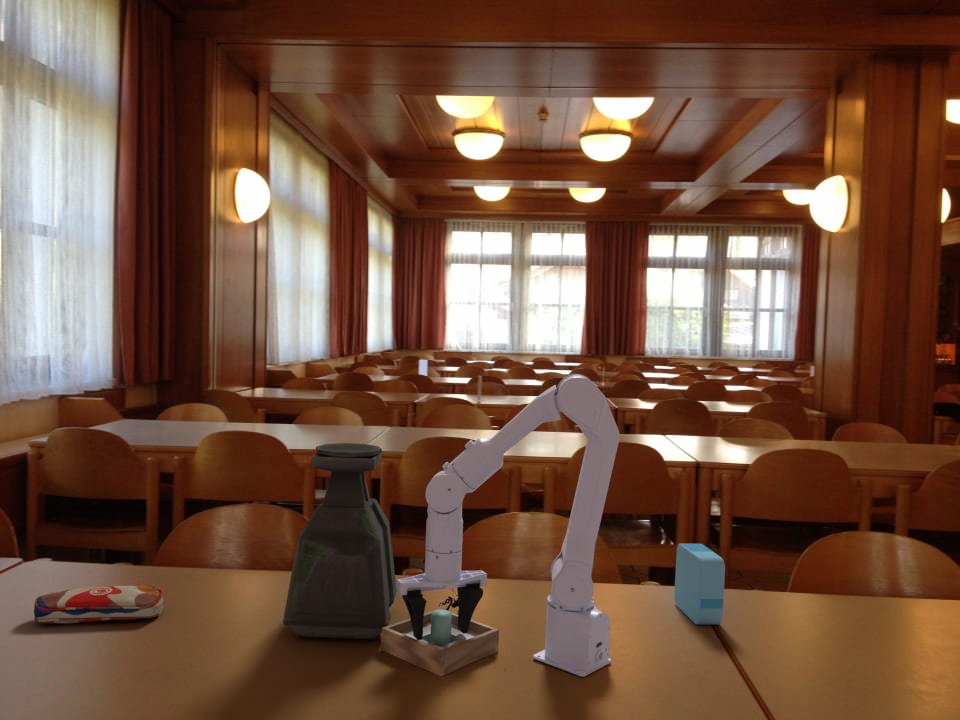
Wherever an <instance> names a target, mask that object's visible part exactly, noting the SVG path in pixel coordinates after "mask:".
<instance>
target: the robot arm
mask: <svg viewBox="0 0 960 720" xmlns="http://www.w3.org/2000/svg"><path fill="white" fill-rule="evenodd" d="M556 385H557V386H556ZM561 413H562V414H563V415H565V416H566V417H567V418H568V419H570V420H571V421H573V423H575V424H576V425H577V426H578V427H579V430H580V431H581V432H582V433H583V435H584V436H585V438H586V439H587V440H586V445H585V450H584V453H583V457H582V463H581V467H580V471H579V472H580V473H579V475H578V479H577V480H578V481H577V484H576V489H575V493H574V498H573V502H572V507H571V510H570V516H569V520H568V525H567V528H566V533H565V537H564V539H563V542H562V545H561V550H560V552H559V554H558V555H557V556H556V557H555V559H553V562H552V563H551V566H550V578H551V585H550V586H551V587H550V589H551V593H550V594H549V595H548V596H547V597H546V599H547V600H546V618H545V619H546V623H545V642H544V649H543V650H540V651H539V652H537V653H534V654H533V655H532V658H533V659H534V660H537V661H539V662H542V663H545V664H547V665H550V666H552V667H555V668H558V669H560V670H563V671H566V672H568V673H571V674H573V675H576V676H578V677H583V678H585V677H587V676H588V675H590V674H591V673H593V672H596V671H598V670H599V669H601V668H603V667H605V666H607V665H609V664H610V663H612V659H611V658H610V639H611V638H610V635H611V623H610V622H611V621H610V618H609V616H608V614H607V613H605V612H603V611H601V610H600V609H598V607H596V606H595V601H594V598H593V596H594V591H595V589H594V582H593V579H592V573H593V568H594V557H595V547H596V543H597V539H598V534H599V530H600V525H601V521H602V517H603V513H604V509H605V504H606V499H607V495H608V491H609V486H610V481H611V478H612V473H613V469H614V464H615V460H616V455H617V452H618V446H619V443H620V436H621V435H620V431H619V428H618V426H617V423H616V420H615V418H614V415H613V413H612V410H611V408H610V405H609V403H608V401H607V397H606V395H605V394H604V393H603V392H602V391H601V390H600V389H599V387H598V386H597V385H596V384H595V383H594V382H593V381H592V380H591V379H590V378H589V377H587V376H586V375H583V374H577V373H574V374H569V375H567V376H564V378H562V379H561V380H560V381H559V383H558V384H554V385H552V386H551V387H549V388H547V389H546V390H544V391H543V392H542V393H540V394H539V395H538V396H536V397H535V398H534V399H532V400H531V401H530V402H529V403H528V404H527V405H526V406H525V407H524V408H523V409H522V410H521V411H519V412H518V413H517V414H516V415H515V416H514V417H513V418H512V419H511V420H510V421H508V422H507V423H506V424H505V425H504V426H503V427H502V428H501V429H500V430H499V431H498V432H496V433H495V434H494V435H493V437H491V438H485V437H483V438H482V437H478V438H477V439H476V440H475V441H473V440H472V439H470V440H469V441H468V442H467V443H466V444H465V445H464V448H465V449H464V450H463V451H462V452H461V453H460V454H459V455H457V456H455V458H454V459H453V460H452V461H451V462H448V461H446V462H445V463H443V465H442V469H443V470H441V471H439V472H437V473H435V475H433V477H432V478H431V480H430V481H429V482H428V484H427V485H426V488H425V500H426V502H427V504H428V506H427V518H426V523H425V524H426V528H425V554H424V556H425V557H424V573H420V574H416V575H413V576H409V577H405V578H397V579H396V589H397V592H396V593H397V594H398V595H400V596H401V597H402V599H403V602H404V603H405V606H406V609H407V613H408V615H409V619H411V623H412V628H413V636H414V637H415V638H416V639H417V640H422V637H423V617H424V613H425V610H426V605H427V600H426V599H425V598H424V597H423V593H422V592H428V591H437V590H439V591H440V590H445V589H447V590H452V589H456V590H457V599H458V603H459V606H458V610H459V611H458V610H457V614H458V629H459V630H460V631H461V632H462V633H463V634H465V633H467V632H468V628H469V624H470V621H471V620H472V618H473V614H474V613H475V610H476V609H477V606H478V604H479V602H480V601H481V600H482V598H483V595H484V588H482V587H486V586H488V585H487V580H488V579H487V578H488V573H486V572H485V571H483V570H482V569H480V570H462V565H463V564H462V561H463V559H462V558H463V556H462V555H463V532H464V531H463V529H464V526H463V525H464V520H463V519H464V518H463V502H464V498H465V496H466V494H468V493H470V494H471V493H473V492H474V491H476V490H477V489H478V488H479V487H480V486H481V485H483V484H484V483H485V482H486V481H487V480H488V479H490V478H491V477H492V476H493V475H494V474H496V473H497V472H498V471H499V470H500V469H501V468H502V467H503V466H504V455H505V454H506V453H507V452H508V451H510V450H511V449H512V448H513V447H514V446H516V445H517V444H518V443H520V442H521V441H522V440H523V439H524V438H526V437H527V436H528V435H529V434H531V433H532V432H533V431H534V430H536V428H538V427H539V426H540V425H541V424H543V423H549V422H555V421H556V422H557V421H561V420H562V417H561Z"/></svg>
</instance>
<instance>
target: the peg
mask: <svg viewBox="0 0 960 720" xmlns="http://www.w3.org/2000/svg"><path fill="white" fill-rule="evenodd" d="M434 610H435V611H433V610H432V611H433V612H432V613H431V636H430V643H433V644H435V645H437V646H440V647H442V646H444V645H447V644H449V643H451V621H452V613H453V612H452V613H451V610H450V611H449V610H448V611H447V610H446V609H444V610H436V609H434Z"/></svg>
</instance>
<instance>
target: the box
mask: <svg viewBox="0 0 960 720" xmlns="http://www.w3.org/2000/svg"><path fill="white" fill-rule="evenodd" d="M435 610H445V609H443V608H441V607H440V608H439V607H438V608H436V609H434V610H430V611H428V612H424V617H423V637H422V640H417V639H416V638H415V637H414V636H413V628H412V623H411V619H410V618H407V619H405V620H404V619H403V620H401V621H399V622H395V623H392V624H390V625H387V626H386V627H383V628H382V632H381V639H380V641H381V644H380V650H381V651H382V652H385V653H387V654H390V655H391V656H394V657H396V658H398V659H400V660H402V661H405V662H407V663H410V664H412V665H415V666H416V667H419V668H421V669H423V670H425V671H428V672H430V673H431V674H434V675H437V676H439V677H443V676H445V675H447V674H450V673H452V672H454V671H456V670H459V669H461V668H463V667H466V666H468V665H470V664H473V663H475V662H477V661H480V660H481V659H482V660H483V659H484V658H486V657H488V656H489V657H490V655H493V654H495V653H498V652H499V640H500V629H499V628H496V627H492V626H491V625H488V624H484V623H482V622H479V621H477V620H473V619H471V621H470V624H469V628H468V632H467V633H465V634H463V633H462V632H461V631H460V630H459V629H458V615H457V614H458V613H454V612H451V611H450V612H451V613H452V621H451V643H449V644H447V645H444V646H442V647H440V646H437V645H435V644H433V643H430V636H431V613H432V612H433V611H435Z"/></svg>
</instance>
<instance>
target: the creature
mask: <svg viewBox="0 0 960 720" xmlns="http://www.w3.org/2000/svg"><path fill="white" fill-rule="evenodd" d="M451 590H452V592H454V593H453V596H456V597H458V594H457V593H455V590H454V588H452V589H451ZM454 594H455V595H454ZM446 604H447V605H448V606H447V607H446V609H445V610H447V611H449V610H450V608H452V609H455V608H459V603H458V598H457V599H455V597H451V596H448V597H447V598H446V599H445V600H444V601H443V602H440V603H439V604H438V608H439V607H440V606H446ZM458 611H459V609H458V610H457V612H458ZM456 614H457V615H458V613H456Z"/></svg>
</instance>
